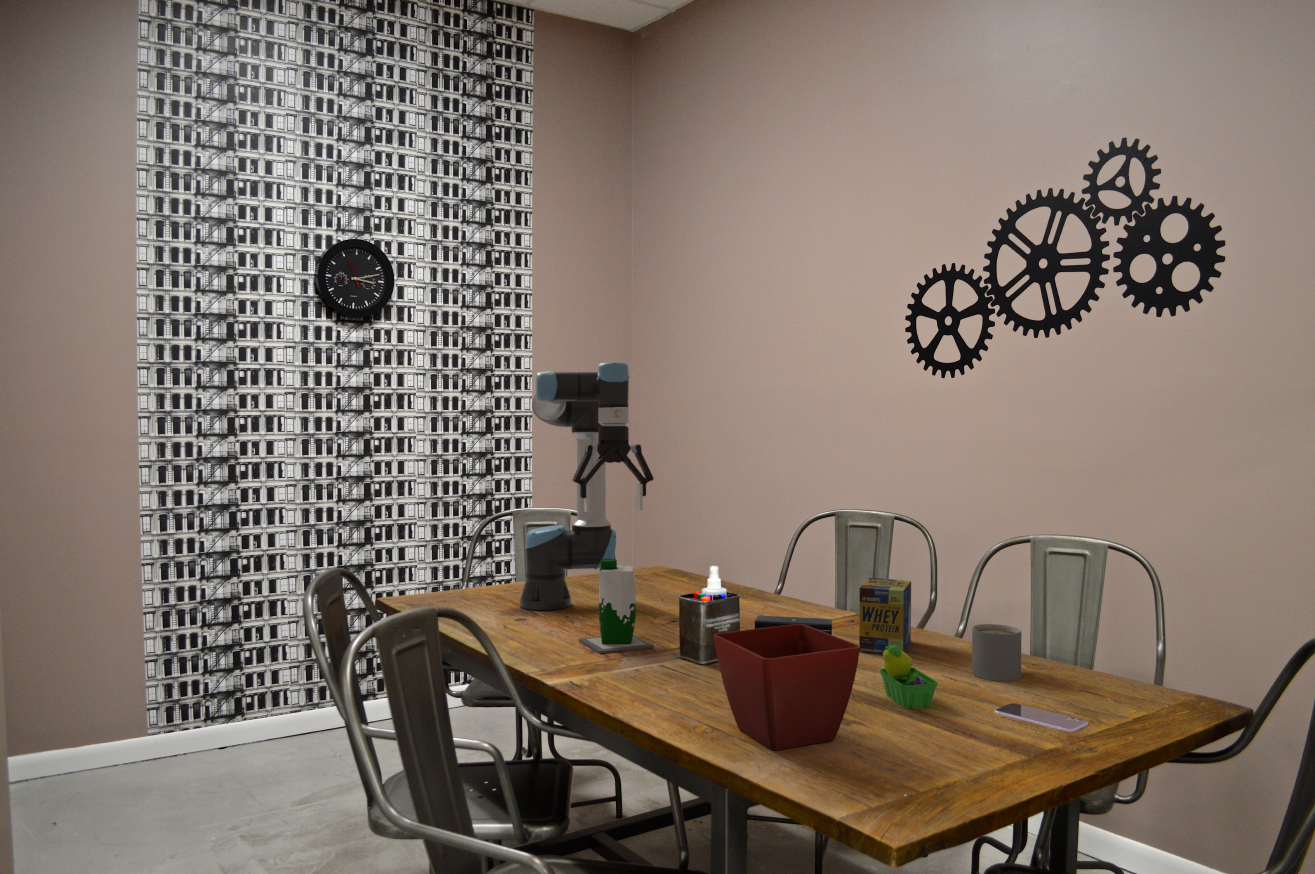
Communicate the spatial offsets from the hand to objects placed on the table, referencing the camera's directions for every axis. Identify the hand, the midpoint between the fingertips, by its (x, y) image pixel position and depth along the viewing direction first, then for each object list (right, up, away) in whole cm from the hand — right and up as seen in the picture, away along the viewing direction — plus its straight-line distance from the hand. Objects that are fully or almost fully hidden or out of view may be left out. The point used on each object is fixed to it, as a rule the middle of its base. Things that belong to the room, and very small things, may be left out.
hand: (613, 510), depth 229 cm
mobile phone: (+82, -34, -59) cm, 106 cm away
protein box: (+66, -33, -5) cm, 74 cm away
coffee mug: (+86, -33, -29) cm, 96 cm away
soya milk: (+1, -32, -2) cm, 32 cm away
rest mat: (+1, -33, -3) cm, 33 cm away
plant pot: (+33, -34, -68) cm, 83 cm away
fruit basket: (+60, -34, -49) cm, 84 cm away
